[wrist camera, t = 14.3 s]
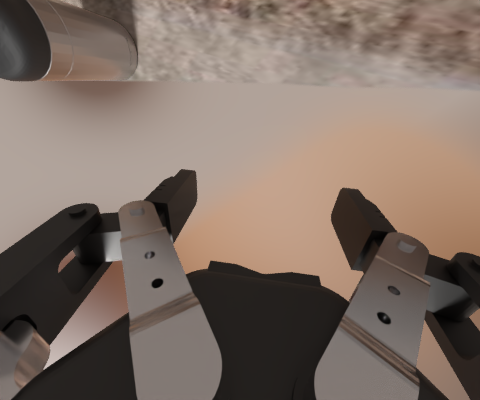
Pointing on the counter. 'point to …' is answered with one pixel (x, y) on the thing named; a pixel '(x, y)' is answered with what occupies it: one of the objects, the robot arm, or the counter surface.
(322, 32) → the counter surface
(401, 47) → the counter surface
